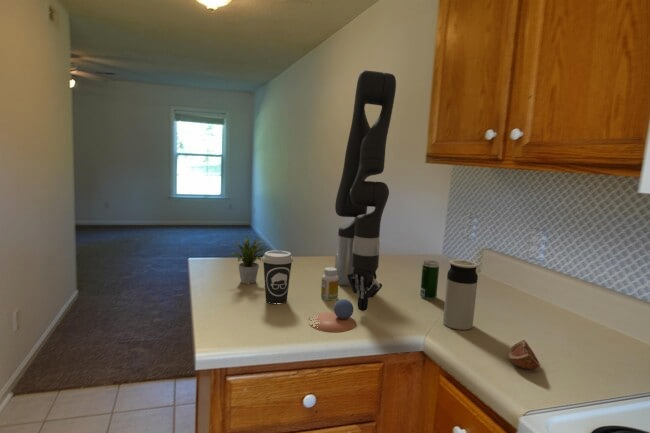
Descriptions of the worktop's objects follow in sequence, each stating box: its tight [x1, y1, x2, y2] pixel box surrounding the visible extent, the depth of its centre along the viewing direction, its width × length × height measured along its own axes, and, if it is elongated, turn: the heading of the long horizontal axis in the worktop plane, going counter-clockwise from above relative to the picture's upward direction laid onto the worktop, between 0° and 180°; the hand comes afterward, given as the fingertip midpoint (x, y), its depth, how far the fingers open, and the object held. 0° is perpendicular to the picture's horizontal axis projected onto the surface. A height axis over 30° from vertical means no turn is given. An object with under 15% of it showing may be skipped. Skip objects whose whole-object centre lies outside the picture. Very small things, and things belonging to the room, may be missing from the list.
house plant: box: [231, 235, 271, 284], centre depth 145 cm, size 14×14×16 cm
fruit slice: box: [507, 339, 541, 370], centre depth 95 cm, size 8×7×5 cm
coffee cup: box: [261, 250, 294, 305], centre depth 129 cm, size 10×10×15 cm
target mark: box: [308, 312, 356, 333], centre depth 116 cm, size 13×13×1 cm
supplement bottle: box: [320, 266, 339, 301], centre depth 134 cm, size 5×5×10 cm
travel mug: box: [442, 258, 479, 331], centre depth 117 cm, size 8×8×18 cm
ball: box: [333, 298, 354, 319], centre depth 118 cm, size 6×6×6 cm
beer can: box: [419, 259, 440, 301], centre depth 140 cm, size 5×5×12 cm
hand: (362, 309), depth 122 cm, fingers closed
